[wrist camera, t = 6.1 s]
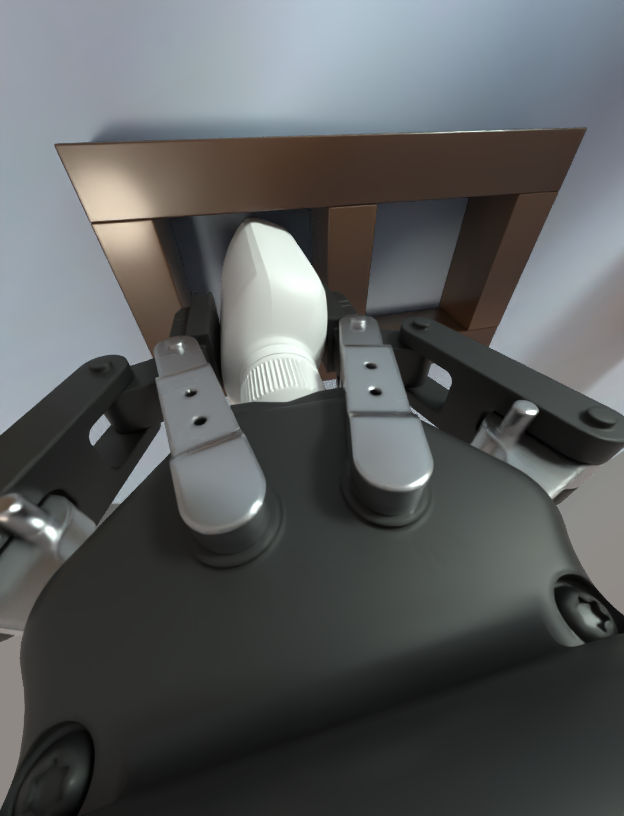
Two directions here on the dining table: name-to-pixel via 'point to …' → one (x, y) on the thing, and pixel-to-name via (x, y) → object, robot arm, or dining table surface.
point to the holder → (325, 208)
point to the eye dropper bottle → (270, 317)
